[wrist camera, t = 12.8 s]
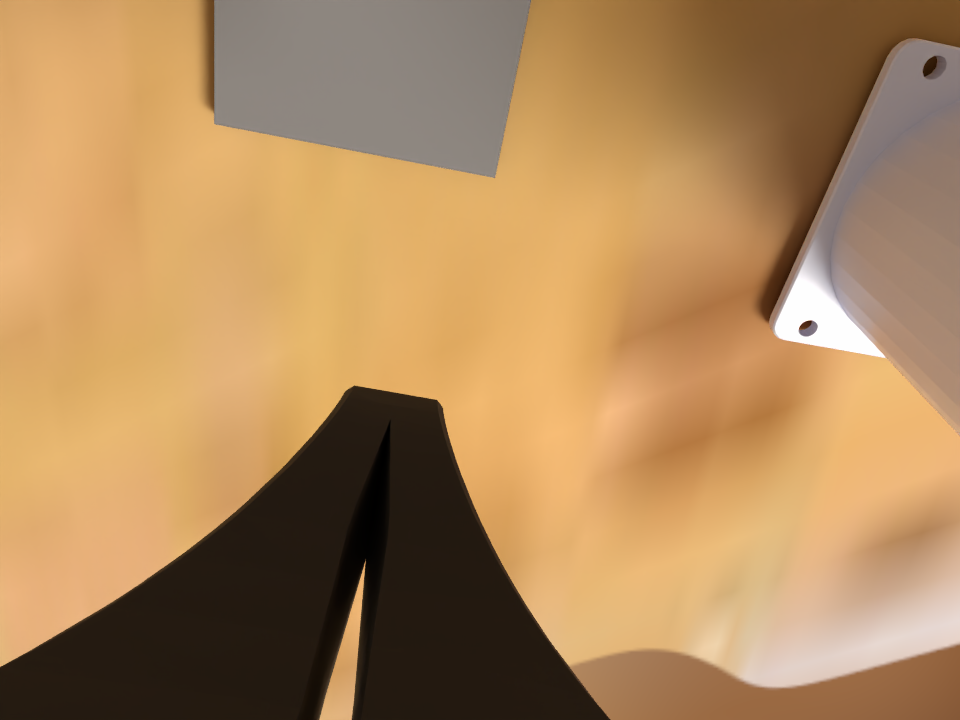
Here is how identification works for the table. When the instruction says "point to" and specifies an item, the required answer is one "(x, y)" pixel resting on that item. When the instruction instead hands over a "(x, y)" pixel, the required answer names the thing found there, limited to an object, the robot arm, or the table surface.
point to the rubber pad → (372, 75)
